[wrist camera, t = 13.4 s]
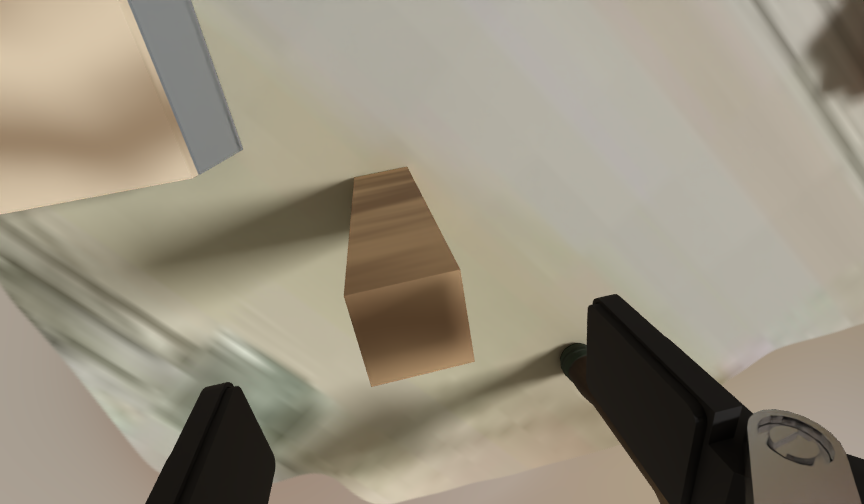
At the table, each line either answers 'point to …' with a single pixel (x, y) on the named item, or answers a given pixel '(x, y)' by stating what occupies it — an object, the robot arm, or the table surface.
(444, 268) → the brown wooden bar
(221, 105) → the grey open box
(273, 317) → the table surface
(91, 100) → the lid
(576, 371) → the stick grenade
